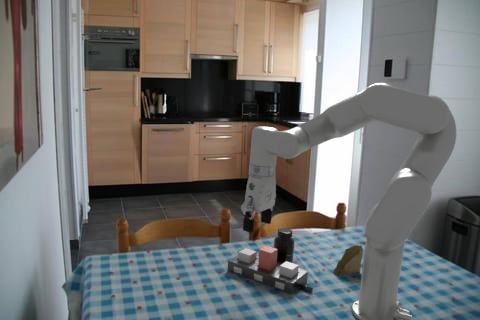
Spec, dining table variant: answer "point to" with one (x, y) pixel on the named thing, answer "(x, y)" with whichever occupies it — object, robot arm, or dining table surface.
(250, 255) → the button
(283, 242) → the supplement bottle
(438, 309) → the dining table surface
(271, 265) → the button
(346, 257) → the rock
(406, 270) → the dining table surface
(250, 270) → the push button control box
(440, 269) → the dining table surface
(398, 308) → the robot arm
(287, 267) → the button
